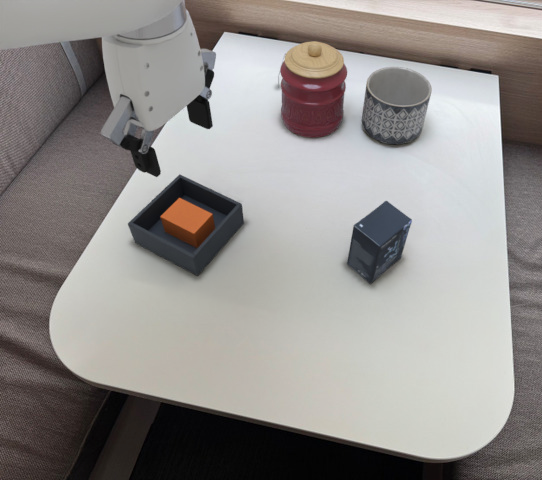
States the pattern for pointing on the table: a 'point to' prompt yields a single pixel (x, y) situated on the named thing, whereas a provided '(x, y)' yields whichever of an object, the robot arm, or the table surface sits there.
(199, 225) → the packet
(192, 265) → the tray
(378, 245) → the box
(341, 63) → the kitchen canister
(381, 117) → the planter
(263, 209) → the table surface
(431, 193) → the table surface
